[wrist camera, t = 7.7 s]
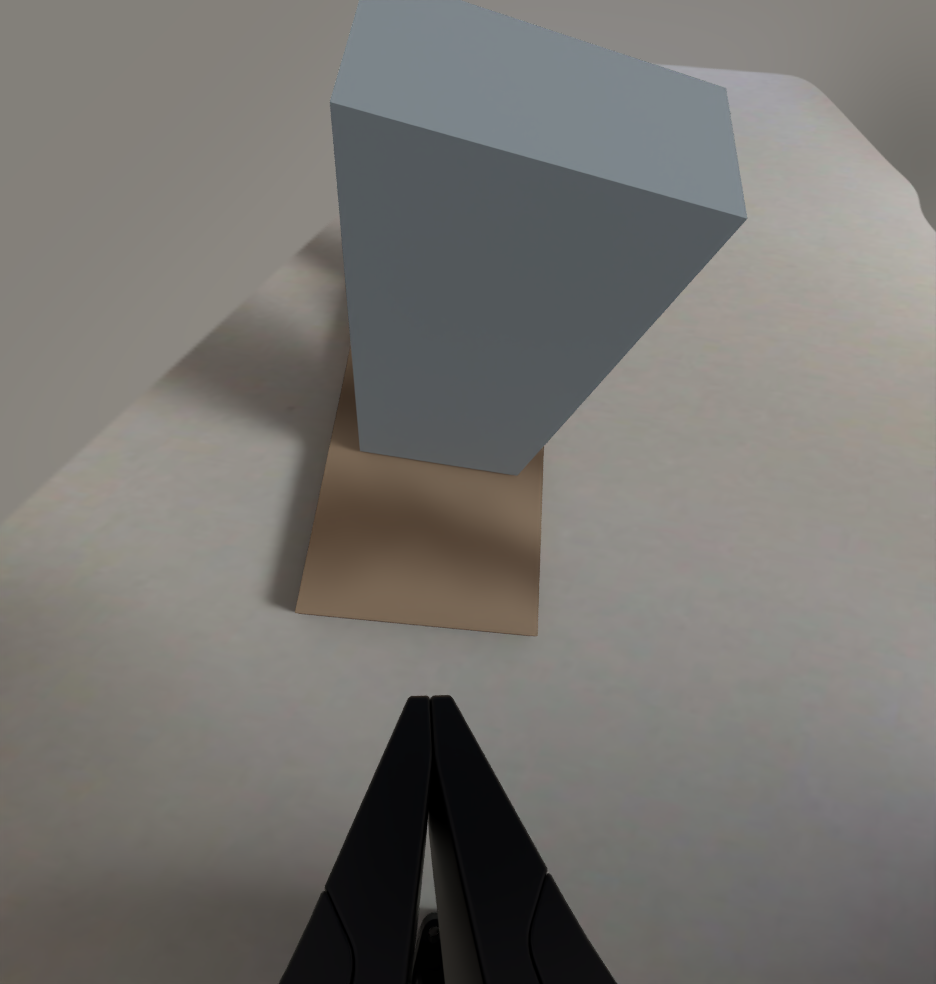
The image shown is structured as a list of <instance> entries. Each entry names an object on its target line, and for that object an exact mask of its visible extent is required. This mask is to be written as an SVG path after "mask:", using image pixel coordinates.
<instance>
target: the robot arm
mask: <svg viewBox="0 0 936 984" xmlns="http://www.w3.org/2000/svg"><path fill="white" fill-rule="evenodd" d="M427 823H428V826H429V839H430V848H431V858H432V867H433V876H434V885H435V895H436V904H437V913H430V914H429V915H427V916H426V917H425V918H424V920H423V922H422V924H421V928H420V932H419V936H418V940H417V945H416V949H415V944H416V934H417V925H418V915H419V905H420V895H421V885H422V875H423V865H424V856H425V846H426V835H427ZM546 874H547V867H546V865H545V863H544V862H543V860H542V858H541V856H540V854H539V853H538V851H537V849H536V847H535V845H534V843H533V842H532V840H531V838H530V836H529V834H528V833H527V831H526V829H525V827H524V825H523V824H522V822H521V820H520V818H519V816H518V815H517V813H516V811H515V809H514V807H513V806H512V804H511V802H510V800H509V798H508V797H507V795H506V793H505V791H504V789H503V788H502V786H501V784H500V782H499V780H498V779H497V777H496V775H495V773H494V771H493V770H492V768H491V766H490V764H489V762H488V761H487V759H486V757H485V755H484V753H483V752H482V750H481V748H480V746H479V744H478V742H477V741H476V739H475V737H474V735H473V733H472V732H471V730H470V728H469V726H468V724H467V723H466V721H465V719H464V717H463V715H462V714H461V712H460V710H459V708H458V706H457V705H456V703H455V701H454V699H453V698H452V697H451V696H449V695H435V696H432V697H431V698H429V697H428V696H411V697H409V698H408V700H407V702H406V704H405V706H404V708H403V711H402V713H401V715H400V717H399V720H398V722H397V724H396V726H395V729H394V731H393V733H392V735H391V738H390V740H389V742H388V744H387V747H386V749H385V751H384V753H383V756H382V758H381V760H380V763H379V765H378V767H377V769H376V772H375V774H374V776H373V778H372V781H371V783H370V785H369V787H368V790H367V792H366V794H365V796H364V799H363V801H362V803H361V805H360V808H359V810H358V812H357V814H356V817H355V819H354V821H353V824H352V826H351V828H350V830H349V833H348V835H347V837H346V839H345V842H344V844H343V846H342V848H341V851H340V853H339V855H338V857H337V860H336V862H335V864H334V866H333V869H332V871H331V873H330V875H329V878H328V880H327V882H326V885H325V891H323V892H322V893H321V895H320V897H319V900H318V902H317V904H316V906H315V909H314V911H313V913H312V915H311V918H310V920H309V922H308V924H307V926H306V929H305V931H304V933H303V935H302V937H301V939H300V941H299V943H298V945H297V948H296V950H295V952H294V954H293V956H292V958H291V960H290V962H289V965H288V967H287V969H286V971H285V973H284V974H283V976H282V978H281V980H280V982H279V984H617V983H616V981H615V980H614V978H613V977H612V975H611V973H610V972H609V970H608V969H607V967H606V966H605V964H604V963H603V961H602V960H601V958H600V957H599V955H598V954H597V952H596V950H595V949H594V947H593V946H592V944H591V943H590V941H589V940H588V938H587V936H586V935H585V933H584V931H583V930H582V928H581V926H580V925H579V923H578V921H577V919H576V918H575V916H574V914H573V913H572V911H571V909H570V907H569V906H568V904H567V902H566V901H565V899H564V897H563V895H562V894H561V892H560V890H559V888H558V886H557V885H556V883H555V881H554V879H553V877H552V875H551V874H549V873H548V874H547V875H546ZM435 926H436V927H438V928H439V931H438V934H436V935H435V936H430V935H428V932H429V930H430V929H431V928H432V927H435Z"/></svg>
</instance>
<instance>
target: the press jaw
mask: <svg viewBox="0 0 936 984" xmlns="http://www.w3.org/2000/svg"><path fill="white" fill-rule="evenodd" d="M330 109H331V121H332V132H333V144H334V155H335V166H336V179H337V189H338V200H339V201H338V202H339V213H340V225H341V237H342V248H343V260H344V271H345V283H346V294H347V306H348V318H349V329H350V341H351V352H352V364H353V376H354V387H355V399H356V410H357V422H358V434H359V445H360V451H363V452H369V453H376V454H382V455H388V456H395V457H401V458H407V459H414V460H420V461H426V462H433V463H439V464H445V465H452V466H458V467H465V468H471V469H477V470H484V471H490V472H496V473H503V474H509V475H515V476H517V475H518V474H519V473H520V472H521V471H522V470H523V469H524V468H525V466H526V465H527V464H528V463H529V462H530V461H531V460H532V459H533V458H534V456H535V455H536V454H537V453H538V452H539V451H540V450H541V449H542V447H543V446H544V445H545V444H546V443H547V442H548V441H549V440H550V439H551V437H552V436H553V435H554V434H555V433H556V432H557V431H558V430H559V428H560V427H561V426H562V425H563V424H564V423H565V422H566V421H567V420H568V418H569V417H570V416H571V415H572V414H573V413H574V412H575V411H576V409H577V408H578V407H579V406H580V405H581V404H582V403H583V402H584V401H585V399H586V398H587V397H588V396H589V395H590V394H591V393H592V392H593V390H594V389H595V388H596V387H597V386H598V385H599V384H600V383H601V382H602V380H603V379H604V378H605V377H606V376H607V375H608V374H609V373H610V371H611V370H612V369H613V368H614V367H615V366H616V365H617V364H618V363H619V361H620V360H621V359H622V358H623V357H624V356H625V355H626V354H627V352H628V351H629V350H630V349H631V348H632V347H633V346H634V345H635V344H636V342H637V341H638V340H639V339H640V338H641V337H642V336H643V335H644V333H645V332H646V331H647V330H648V329H649V328H650V327H651V326H652V325H653V323H654V322H655V321H656V320H657V319H658V318H659V317H660V316H661V314H662V313H663V312H664V311H665V310H666V309H667V308H668V307H669V306H670V304H671V303H672V302H673V301H674V300H675V299H676V298H677V297H678V295H679V294H680V293H681V292H682V291H683V290H684V289H685V288H686V287H687V285H688V284H689V283H690V282H691V281H692V280H693V279H694V278H695V276H696V275H697V274H698V273H699V272H700V271H701V270H702V269H703V268H704V266H705V265H706V264H707V263H708V262H709V261H710V260H711V259H712V257H713V256H714V255H715V254H716V253H717V252H718V251H719V250H720V249H721V247H722V246H723V245H724V244H725V243H726V242H727V241H728V240H729V238H730V237H731V236H732V235H733V234H734V233H735V232H736V231H737V230H738V228H739V227H740V226H741V225H742V224H743V223H744V222H745V221H746V219H747V214H746V208H745V201H744V195H743V189H742V183H741V177H740V171H739V165H738V159H737V152H736V146H735V140H734V134H733V128H732V122H731V116H730V110H729V103H728V97H727V91H726V88H724V87H721V86H718V85H715V84H712V83H709V82H706V81H703V80H700V79H697V78H694V77H691V76H688V75H685V74H682V73H679V72H676V71H673V70H670V69H667V68H664V67H661V66H658V65H655V64H652V63H649V62H646V61H643V60H640V59H637V58H633V57H631V56H627V55H624V54H621V53H618V52H615V51H612V50H609V49H606V48H603V47H600V46H597V45H594V44H591V43H588V42H585V41H582V40H579V39H576V38H573V37H570V36H567V35H564V34H561V33H558V32H555V31H552V30H549V29H546V28H543V27H540V26H537V25H534V24H531V23H528V22H525V21H521V20H519V19H515V18H513V17H509V16H507V15H504V14H501V13H497V12H494V11H492V10H489V9H485V8H482V7H479V6H476V5H473V4H470V3H467V2H464V1H461V0H359V3H358V7H357V10H356V14H355V17H354V21H353V24H352V27H351V31H350V34H349V38H348V41H347V45H346V48H345V52H344V55H343V59H342V62H341V65H340V69H339V73H338V76H337V79H336V83H335V86H334V90H333V93H332V96H331V100H330Z"/></svg>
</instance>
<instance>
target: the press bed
mask: <svg viewBox="0 0 936 984" xmlns="http://www.w3.org/2000/svg"><path fill="white" fill-rule="evenodd" d="M543 456H544V446H543V447H542V449H541V450H540V451H539V452H538V453H537V454H536V455H535V456H534V458H533V459H532V460H531V461H530V462H529V463H528V464H527V465H526V466H525V468H524V469H523V470H522V471H521V472H520V473H519V474H518V475H517V476H515V475H509V474H503V473H496V472H490V471H484V470H477V469H471V468H465V467H458V466H452V465H445V464H439V463H433V462H426V461H420V460H414V459H407V458H401V457H395V456H388V455H382V454H376V453H369V452H363V451H360V445H359V434H358V422H357V410H356V399H355V387H354V376H353V364H352V352H351V346H350V351H349V355H348V360H347V365H346V370H345V375H344V379H343V384H342V389H341V394H340V399H339V403H338V408H337V413H336V418H335V422H334V427H333V432H332V437H331V442H330V446H329V451H328V456H327V461H326V466H325V470H324V475H323V480H322V485H321V490H320V494H319V499H318V504H317V509H316V513H315V518H314V523H313V528H312V533H311V537H310V542H309V547H308V552H307V557H306V561H305V566H304V571H303V576H302V580H301V585H300V590H299V595H298V600H297V604H296V609H295V613H299V614H307V615H318V616H328V617H339V618H349V619H359V620H370V621H380V622H390V623H401V624H411V625H421V626H432V627H442V628H452V629H463V630H473V631H483V632H494V633H504V634H514V635H525V636H537V635H538V605H539V575H540V545H541V515H542V486H543Z"/></svg>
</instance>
